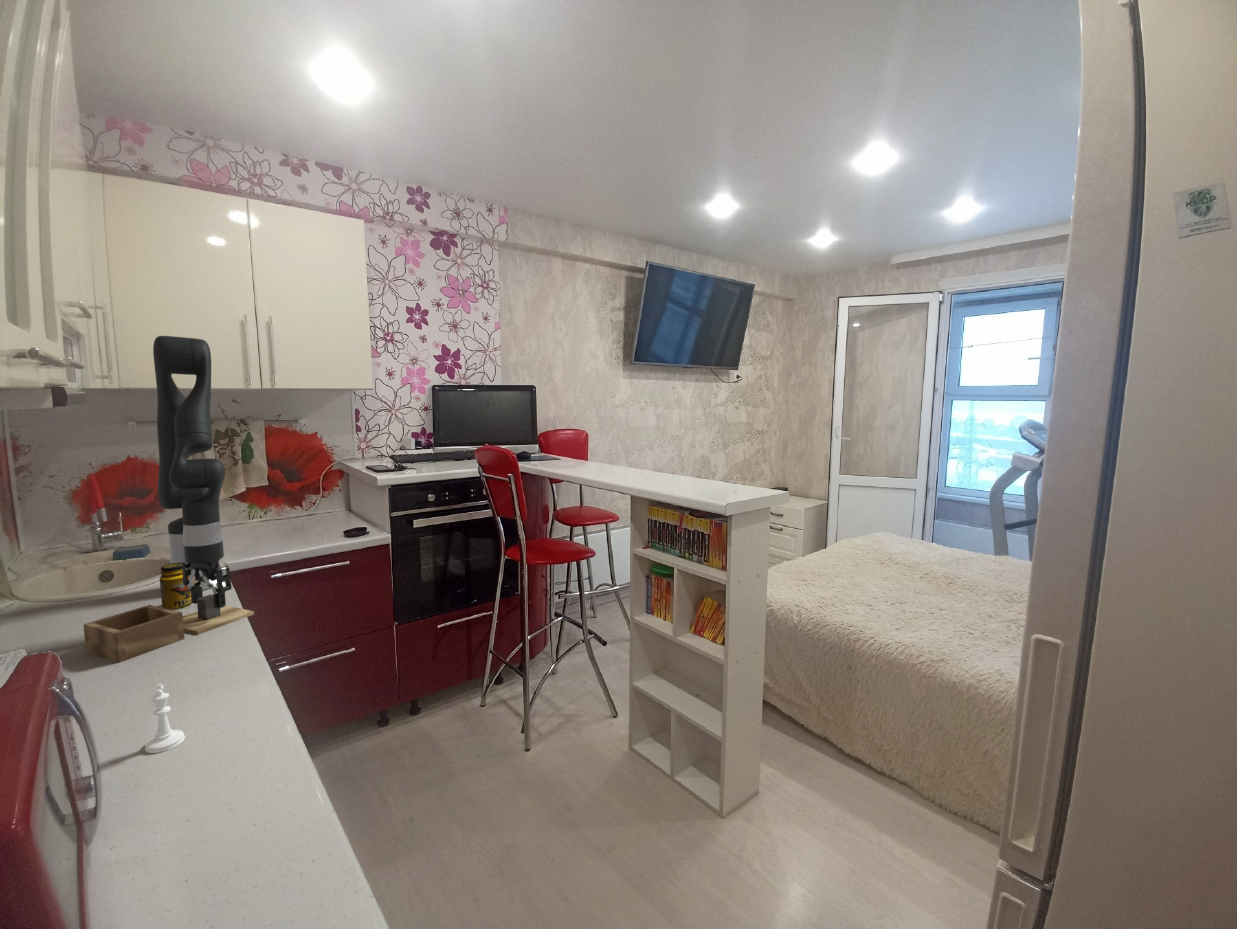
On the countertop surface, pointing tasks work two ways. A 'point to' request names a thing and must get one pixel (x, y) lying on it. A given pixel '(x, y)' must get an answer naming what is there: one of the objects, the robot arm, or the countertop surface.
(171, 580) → the condiment
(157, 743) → the chess piece
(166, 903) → the countertop surface
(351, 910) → the countertop surface
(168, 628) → the box
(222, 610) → the lid
